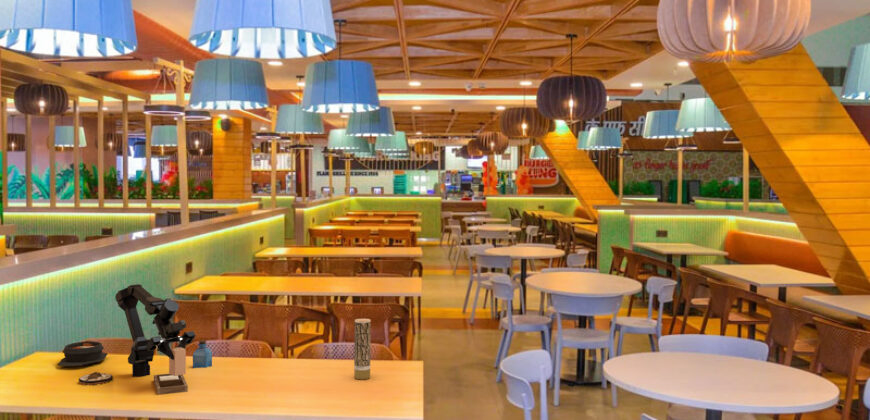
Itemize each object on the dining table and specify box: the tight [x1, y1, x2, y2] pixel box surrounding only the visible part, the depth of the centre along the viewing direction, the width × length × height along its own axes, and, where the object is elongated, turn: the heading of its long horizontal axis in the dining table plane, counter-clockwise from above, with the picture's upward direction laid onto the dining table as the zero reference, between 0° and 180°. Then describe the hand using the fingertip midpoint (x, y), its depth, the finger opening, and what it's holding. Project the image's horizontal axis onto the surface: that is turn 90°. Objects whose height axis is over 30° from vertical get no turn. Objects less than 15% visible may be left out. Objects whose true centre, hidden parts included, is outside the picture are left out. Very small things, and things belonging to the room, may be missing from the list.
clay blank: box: [168, 347, 187, 376], centre depth 281 cm, size 4×4×10 cm
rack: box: [153, 373, 189, 396], centre depth 285 cm, size 21×11×3 cm, turn 25°
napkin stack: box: [159, 375, 179, 381], centre depth 289 cm, size 7×7×2 cm
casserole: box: [57, 340, 108, 367], centre depth 322 cm, size 25×19×8 cm
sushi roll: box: [78, 371, 113, 386], centre depth 293 cm, size 15×15×4 cm
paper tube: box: [353, 318, 372, 381], centre depth 303 cm, size 7×7×25 cm
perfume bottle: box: [192, 339, 213, 369], centre depth 317 cm, size 6×6×12 cm
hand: (179, 358), depth 280 cm, fingers closed on clay blank, 4 cm apart
